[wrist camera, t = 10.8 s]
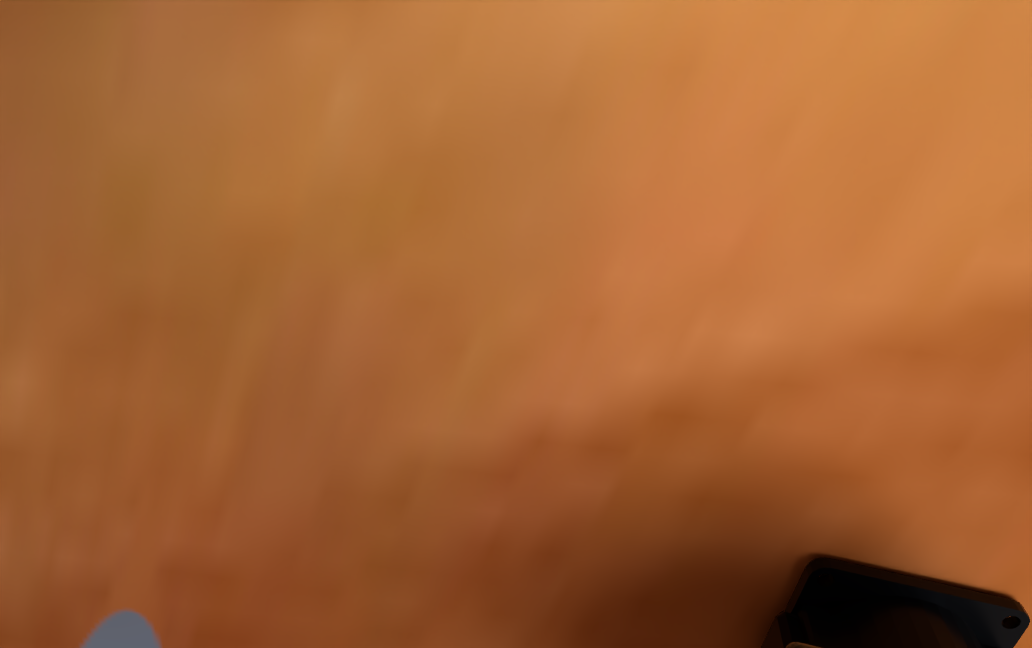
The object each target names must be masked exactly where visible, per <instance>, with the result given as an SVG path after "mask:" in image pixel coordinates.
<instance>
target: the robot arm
mask: <svg viewBox="0 0 1032 648" xmlns="http://www.w3.org/2000/svg"><path fill="white" fill-rule="evenodd" d="M822 574H829V575H828V576H825V577H819V576H820V575H822ZM1009 616H1011V617H1009ZM1006 617H1008V618H1006ZM1029 623H1030V619H1029V616H1028V614H1027V612H1026V611H1025V609H1024V607H1023V606H1022V605H1021V604H1020V603H1019V602H1017V601H1015V600H1011V599H1007V598H1002V597H998V596H993V595H989V594H985V593H980V592H976V591H971V590H967V589H962V588H958V587H954V586H949V585H945V584H940V583H936V582H932V581H927V580H923V579H918V578H914V577H909V576H905V575H901V574H896V573H892V572H887V571H883V570H879V569H874V568H870V567H865V566H861V565H856V564H852V563H848V562H843V561H839V560H834V559H830V558H818V559H815V560H813V561H811V562H810V563H809V564H808V565H807V566H806V568H805V570H804V572H803V574H802V576H801V578H800V580H799V582H798V584H797V586H796V589H795V591H794V593H793V595H792V597H791V599H790V601H789V603H788V605H787V607H786V609H785V611H784V612H781V613H780V614H779V615H778V616H776V617H775V619H774V621H773V624H772V626H771V628H770V630H769V632H768V634H767V636H766V638H765V640H764V642H763V644H762V646H761V648H1013V647H1014V646H1015V645H1016V643H1017V642H1018V640H1019V639H1020V637H1021V636H1022V635H1023V633H1024V632H1025V630H1026V629H1027V627H1028V625H1029Z"/></svg>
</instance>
